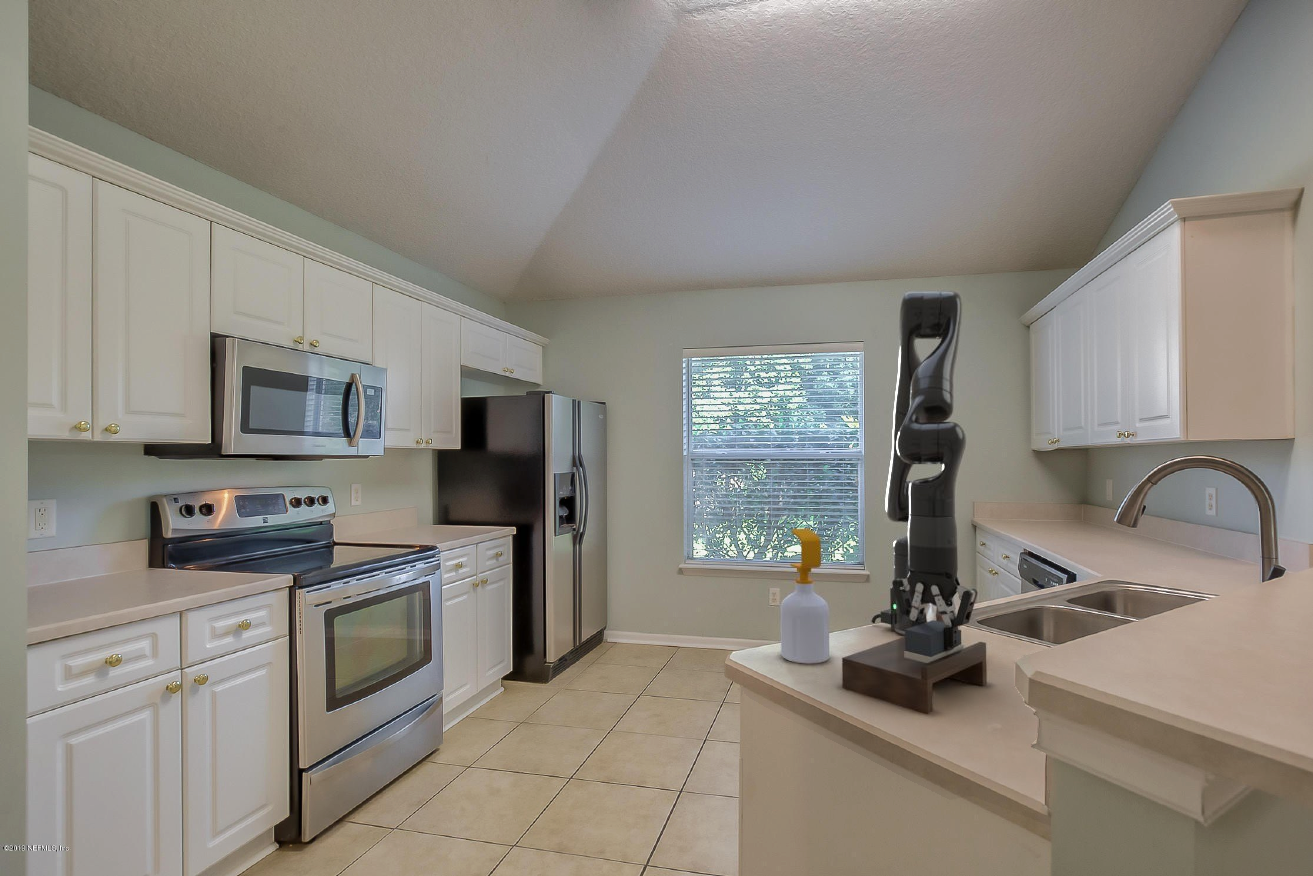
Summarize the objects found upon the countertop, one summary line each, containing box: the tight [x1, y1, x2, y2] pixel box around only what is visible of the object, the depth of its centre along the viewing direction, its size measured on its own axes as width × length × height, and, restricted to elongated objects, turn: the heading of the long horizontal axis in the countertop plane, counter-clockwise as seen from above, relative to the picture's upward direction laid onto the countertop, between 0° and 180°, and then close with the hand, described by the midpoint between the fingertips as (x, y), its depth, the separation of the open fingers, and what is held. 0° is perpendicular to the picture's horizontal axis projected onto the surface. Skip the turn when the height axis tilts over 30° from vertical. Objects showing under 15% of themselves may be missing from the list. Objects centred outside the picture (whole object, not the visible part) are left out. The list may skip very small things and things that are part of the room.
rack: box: [841, 636, 988, 715], centre depth 111 cm, size 15×20×7 cm
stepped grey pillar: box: [904, 620, 964, 663], centre depth 109 cm, size 11×4×4 cm, turn 130°
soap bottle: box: [780, 528, 830, 665], centre depth 128 cm, size 9×9×25 cm
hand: (934, 645), depth 109 cm, fingers closed on stepped grey pillar, 4 cm apart
